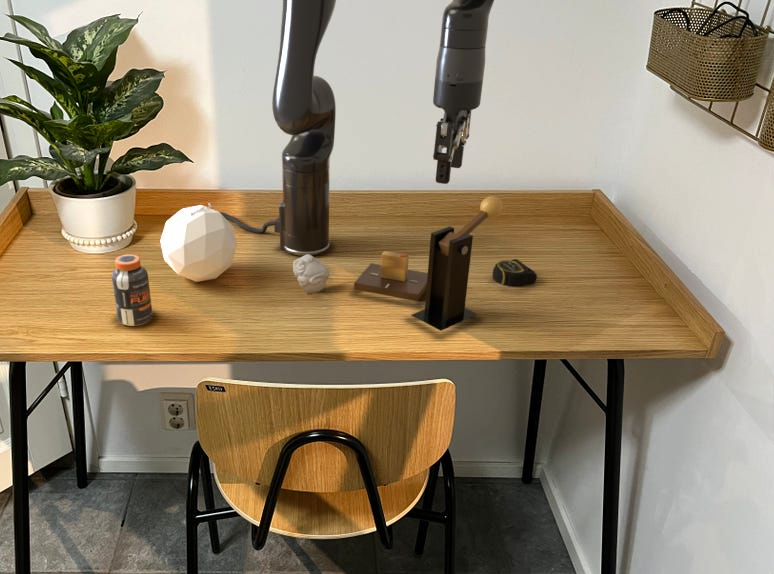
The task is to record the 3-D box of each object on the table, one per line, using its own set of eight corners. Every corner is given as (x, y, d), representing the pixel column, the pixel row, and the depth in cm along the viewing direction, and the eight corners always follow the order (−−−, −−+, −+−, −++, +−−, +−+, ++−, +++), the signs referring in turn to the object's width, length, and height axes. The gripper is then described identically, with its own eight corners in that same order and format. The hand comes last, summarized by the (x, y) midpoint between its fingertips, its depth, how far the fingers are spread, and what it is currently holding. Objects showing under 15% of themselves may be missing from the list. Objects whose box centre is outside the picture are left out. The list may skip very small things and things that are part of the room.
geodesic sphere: (186, 222, 154) (162, 181, 141) (254, 229, 151) (235, 187, 138) (166, 289, 150) (139, 252, 136) (236, 297, 146) (215, 261, 133)
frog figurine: (301, 281, 145) (301, 247, 141) (335, 289, 142) (336, 254, 138) (287, 295, 140) (286, 260, 136) (321, 303, 137) (321, 267, 134)
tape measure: (536, 289, 141) (539, 270, 139) (503, 295, 139) (506, 276, 137) (516, 274, 146) (519, 256, 144) (484, 279, 145) (487, 261, 143)
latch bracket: (446, 305, 136) (454, 221, 128) (476, 320, 131) (487, 233, 123) (410, 320, 131) (416, 234, 123) (440, 337, 127) (448, 248, 118)
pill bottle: (136, 330, 130) (127, 269, 124) (110, 321, 132) (101, 261, 126) (160, 315, 134) (152, 255, 128) (134, 307, 137) (126, 248, 131)
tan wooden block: (380, 277, 140) (381, 252, 137) (383, 273, 141) (384, 249, 139) (404, 281, 138) (406, 257, 136) (407, 278, 140) (409, 253, 137)
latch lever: (491, 206, 129) (488, 189, 127) (508, 212, 127) (505, 195, 124) (439, 254, 126) (434, 238, 124) (455, 261, 124) (451, 245, 121)
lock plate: (353, 294, 140) (354, 281, 138) (370, 275, 147) (371, 262, 145) (417, 307, 136) (418, 293, 134) (431, 285, 143) (432, 272, 141)
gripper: (447, 64, 129) (438, 159, 137) (424, 82, 118) (415, 185, 126) (492, 68, 126) (479, 165, 135) (472, 87, 115) (460, 191, 124)
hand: (448, 174), depth 131 cm, fingers open, 8 cm apart
